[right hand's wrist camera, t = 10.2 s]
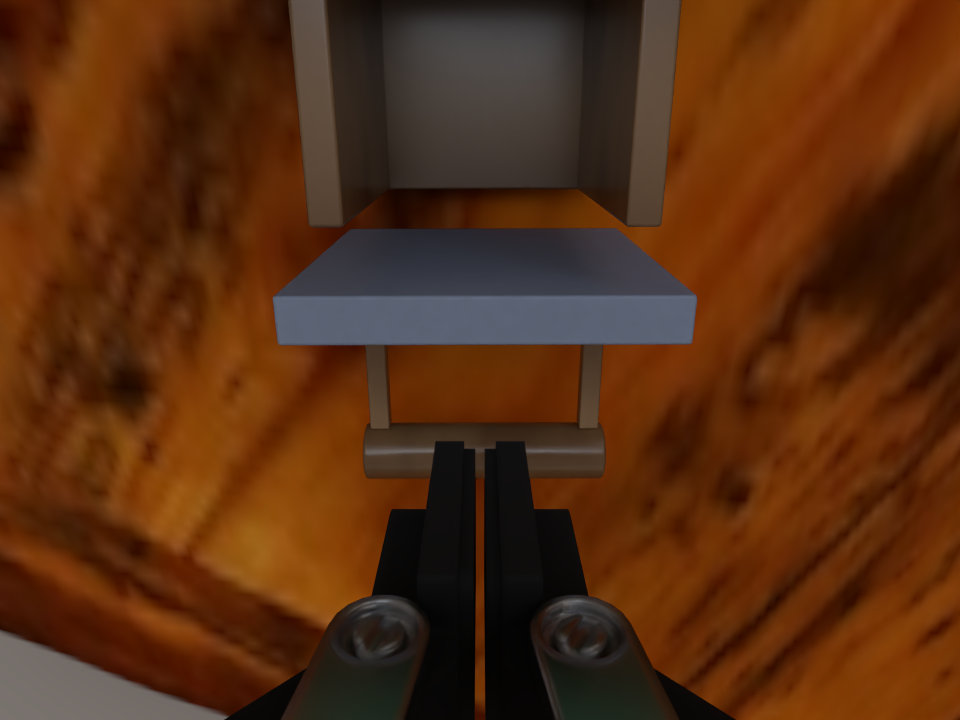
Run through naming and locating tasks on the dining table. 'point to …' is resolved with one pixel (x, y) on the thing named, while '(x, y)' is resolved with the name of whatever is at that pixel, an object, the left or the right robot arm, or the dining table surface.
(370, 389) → the drawer
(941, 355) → the dining table surface
